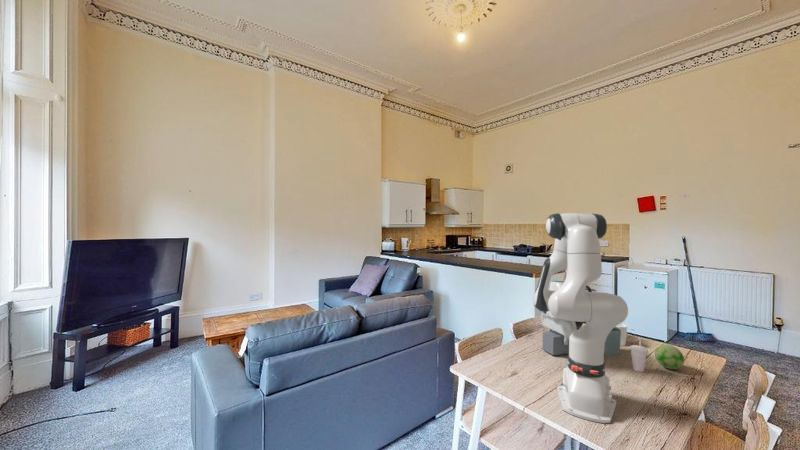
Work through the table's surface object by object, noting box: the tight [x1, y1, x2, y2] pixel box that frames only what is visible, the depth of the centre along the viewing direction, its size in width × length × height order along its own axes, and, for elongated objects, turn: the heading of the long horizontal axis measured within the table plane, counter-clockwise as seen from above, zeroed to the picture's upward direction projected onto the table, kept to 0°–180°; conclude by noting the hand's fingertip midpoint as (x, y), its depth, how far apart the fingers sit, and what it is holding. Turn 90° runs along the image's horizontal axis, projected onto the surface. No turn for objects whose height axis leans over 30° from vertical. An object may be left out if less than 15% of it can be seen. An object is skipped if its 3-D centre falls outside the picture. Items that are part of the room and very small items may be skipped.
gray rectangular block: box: [542, 330, 569, 356], centre depth 154 cm, size 12×7×9 cm, turn 104°
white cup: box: [615, 322, 628, 347], centre depth 165 cm, size 8×8×10 cm
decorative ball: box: [654, 344, 685, 370], centre depth 138 cm, size 10×10×10 cm
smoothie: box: [629, 337, 649, 373], centre depth 136 cm, size 6×6×14 cm
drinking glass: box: [604, 327, 621, 356], centre depth 155 cm, size 10×10×12 cm
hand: (558, 340), depth 154 cm, fingers closed on gray rectangular block, 7 cm apart
